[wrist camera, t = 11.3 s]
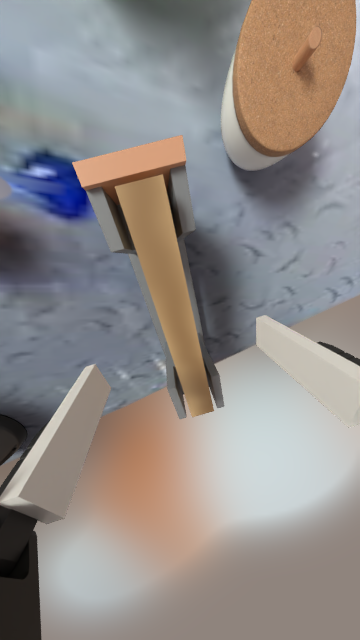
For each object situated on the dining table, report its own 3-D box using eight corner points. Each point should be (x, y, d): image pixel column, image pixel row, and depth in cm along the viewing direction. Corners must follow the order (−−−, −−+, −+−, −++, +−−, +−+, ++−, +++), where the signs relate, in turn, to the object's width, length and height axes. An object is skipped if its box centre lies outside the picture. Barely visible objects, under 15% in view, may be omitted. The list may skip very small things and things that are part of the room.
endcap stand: (169, 363, 34) (174, 424, 21) (115, 214, 21) (53, 155, 9) (205, 353, 34) (231, 407, 22) (174, 199, 21) (194, 120, 9)
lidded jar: (243, 38, 16) (338, -209, 7) (299, 118, 19) (410, 10, 11) (193, 149, 19) (220, 65, 11) (249, 202, 22) (303, 169, 14)
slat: (185, 381, 24) (192, 417, 19) (132, 213, 14) (114, 186, 8) (201, 376, 24) (213, 410, 19) (161, 206, 14) (162, 174, 9)
